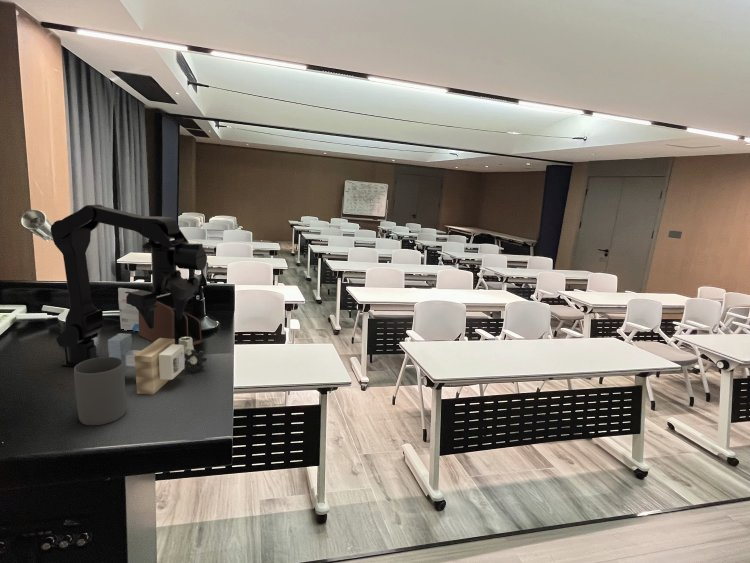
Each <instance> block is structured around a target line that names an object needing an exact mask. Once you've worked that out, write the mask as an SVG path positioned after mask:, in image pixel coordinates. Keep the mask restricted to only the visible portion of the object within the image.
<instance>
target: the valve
mask: <svg viewBox="0 0 750 563" xmlns="http://www.w3.org/2000/svg"><path fill="white" fill-rule="evenodd" d="M192 344H193V342H192V338H191V337H182V338H180V339H179V345H184V361H185V364H184V369H183V371H185V372H189V371H190V370H191V373H192V374H195V373H197V369H200V370H203V369H204V368H205V366H204V364H203V363H205V362H207V360H208V359H207V357H206V356H204V351H202V350H200V351H198V353H197V350H195V348H194V345H192ZM198 358H199V362H198ZM188 362H189V363H188ZM197 363H198V364H197ZM189 364H190V365H191V366H190V365H189ZM195 364H197V365H195Z"/></svg>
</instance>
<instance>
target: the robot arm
mask: <svg viewBox="0 0 750 563" xmlns="http://www.w3.org/2000/svg"><path fill="white" fill-rule="evenodd" d="M100 224H104V225H107V226H113V227H117V228H120V229H123V230H124V229H125V230H130V231H133V232H136V233H138V234H139V235H141V236H142V237H143V238H146V239H147V242H145V244H143V245H142V248H143V249H148V250H151V251H150V253H151V254H150V255H151V256H150V257H151V269H148V270H147V273H148V275H151V278H152V279H151V283H152V284H150V285H148V290H150V291H147V290H142V289H138V290H139V291H134V292H127V294H128V295H127V296H126V302H127V304H130V305H131V306H134V307H136V308H137V310H138V311H139V312H140V314H141V315H142V317H143V318H144V320H145V322H146V323H147V325H148V327H149V328H150V329H153V328H154V310H155V308H156V307H157V306H158V305H155V303H156V302H157V301H158V299H159V298H164V297H167V296H172V302H173V307H174V308H173V309H175V313H176V317H177V319H181V318H182V315H183V312H185V309H186V307H187V304H188V302H189V300H190V299H192V298H193V297H195V296H196V294H197V293H199V292H200V291H199V290H200V289H199V288H200V283H199V278H198V277H196V276H191V277H189V278H185V277H184V278H183V277H182V272H181V270H180V269H182V270H183V269H184V270H191V271H193V270H195V271H204V269H205V268H206V265H207V264H208V263H207V261H208V255H207V253H206V250H205V249H204V248H203V246H204V245H203V243H198V242H197V243H192V242H191V243H190V242H189V240H188V238H186V236H185V234H184V233H183V232H182V230H181V229H180V225H179V224H178V222H177V220H176V219H175V218H174V217H169V216H146V215H145V216H144V215H141V214H136V213H131V212H127V211H124V210H121V209H120V210H119V209H116V208H111V207H106V206H103V205H102V204H87V205H84V206H83V207H82V208H80V209H78V210H77V211H75V212H73V213H72V214H70V215H67V216H65V217H64V218H63V219H60V220H59V219H58V220H56V221H54V222H53V223H52V224H51V225H50V234H51V238H52V240H53V243H54V246H55V247H56V248H57V249H58V250H59V251H60V253H61V254H62V256H63V264H64V271H65V278H66V287H67V292H68V300H69V310H68V312H67V314H66V317H65V321H64V322H65V325H64V327H65V328H64V330H63V331H62V332H61V333H60V334H59V335H58V336H57V337H56V342H57V345H58V346H59V347H63V348H64V356H65V358H64V359H65V361H64V362H62V363H61V366H63V367H75V366H76V365H77V364H79V363H81V362H83V361H86V360H89V359H93V358H98V357H100V356H99V355H97V346H96V345H95V340H94V339H95V338H98V336H99V332H100V331H101V330H102V329H103V326H104V324H105V320H104V316H103V315H104V312H103V309H97V307H95V305H94V304H93V299H92V292H91V285H90V277H89V276H90V275H89V268H88V260H87V250H88V248H89V245H90V243H91V235H92V231H93V230H95V229H96V228H97V227H98V226H99V225H100Z"/></svg>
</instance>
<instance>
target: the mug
mask: <svg viewBox="0 0 750 563" xmlns="http://www.w3.org/2000/svg"><path fill="white" fill-rule="evenodd" d="M73 379H74V388H75V389H74V390H75V391H74V392H75V399H76V409H77V415H78V419H79V421H80V423H81V424H83V425H85V426H101V425H106V424H109V423H112V422H115V421H117V420H119V419H120V418H122V417H123V416H125V413H126V412H127V397H126V396H127V394H126V393H127V392H126V382H125V379H126V378H125V373H124V367H123V362H122V360H121V359H119V358H116V357H109V356H101V357H100V356H99V357H98V358H93V359H89V360H86V361H83V362H81V363H79V364H77V365H76V366H74V368H73Z"/></svg>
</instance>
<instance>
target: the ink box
mask: <svg viewBox="0 0 750 563" xmlns="http://www.w3.org/2000/svg"><path fill="white" fill-rule="evenodd" d="M139 290H140V289H132V288H124V287H118V289H117V291H118V294H117V295H118V297H117V298H118V300H117V301H118V310H119V320H120V330H121V329H124V330H123V331H127V330H133V331H132V332H135V331H138V332H137V333H139V311H138V310H137V308H136V307H134V306H131V305H130V304H127V302H126V296H127V295H128V293H130V292H134V291H139Z"/></svg>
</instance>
